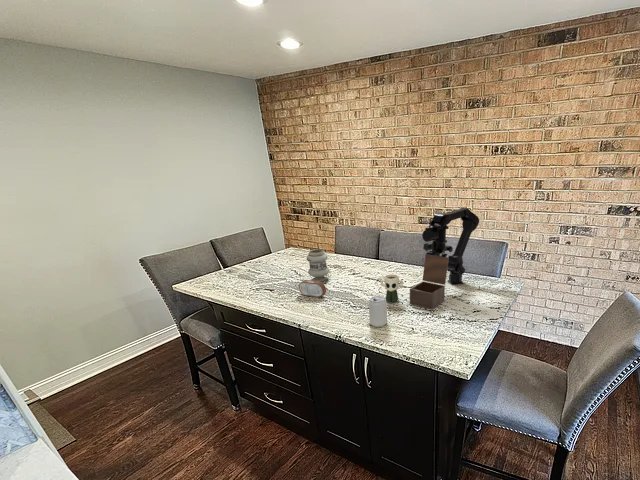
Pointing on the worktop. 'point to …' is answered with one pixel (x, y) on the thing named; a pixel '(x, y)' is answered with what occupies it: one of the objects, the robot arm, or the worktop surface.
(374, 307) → the can
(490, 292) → the worktop surface
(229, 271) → the worktop surface
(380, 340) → the worktop surface
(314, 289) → the tin
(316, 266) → the apothecary jar
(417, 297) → the box
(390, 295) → the character mug
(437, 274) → the chest lid
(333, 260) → the worktop surface
